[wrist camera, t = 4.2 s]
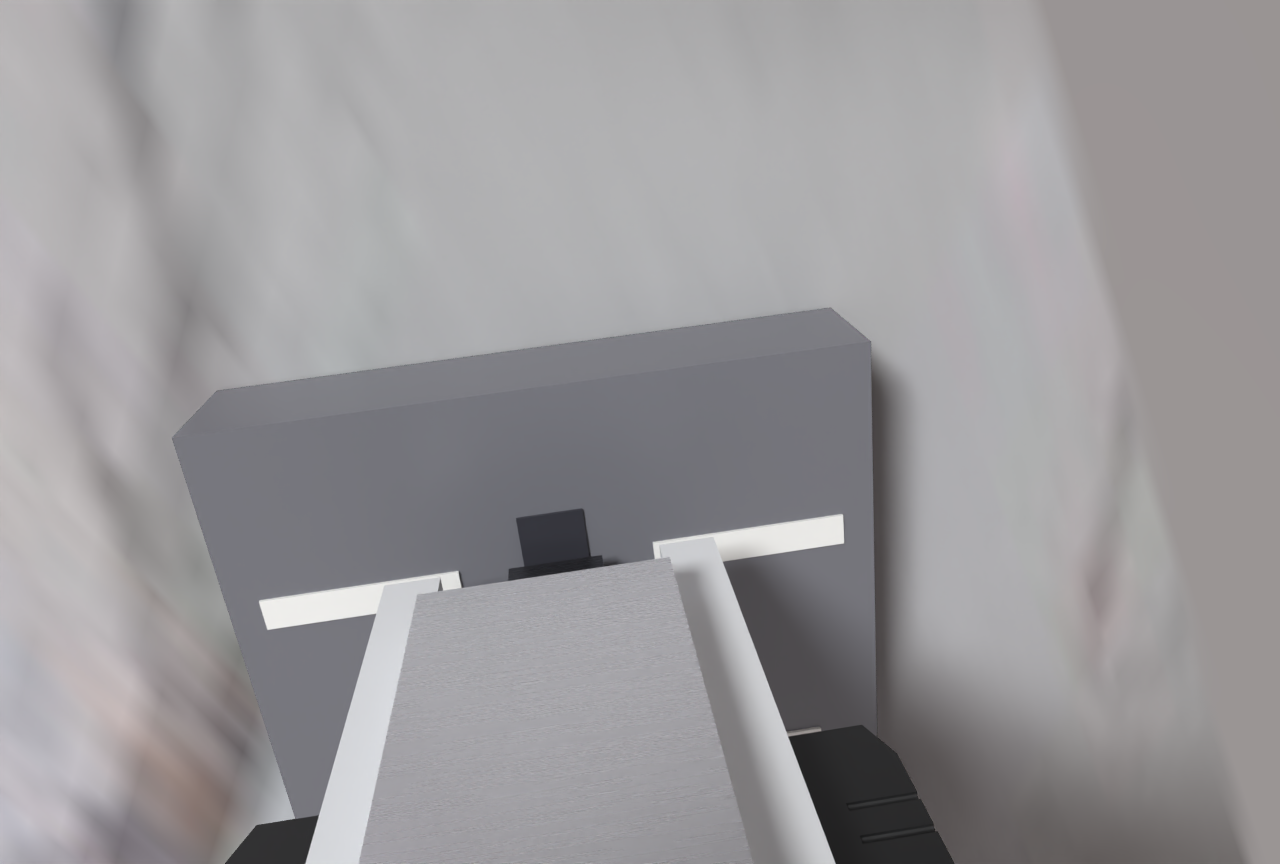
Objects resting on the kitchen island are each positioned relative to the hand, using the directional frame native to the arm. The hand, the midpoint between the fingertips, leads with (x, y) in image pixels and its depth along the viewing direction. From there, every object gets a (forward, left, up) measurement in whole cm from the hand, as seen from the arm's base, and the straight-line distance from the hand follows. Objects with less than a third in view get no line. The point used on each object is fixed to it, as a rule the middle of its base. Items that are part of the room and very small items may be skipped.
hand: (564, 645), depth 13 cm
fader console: (+8, 0, -4) cm, 8 cm away
